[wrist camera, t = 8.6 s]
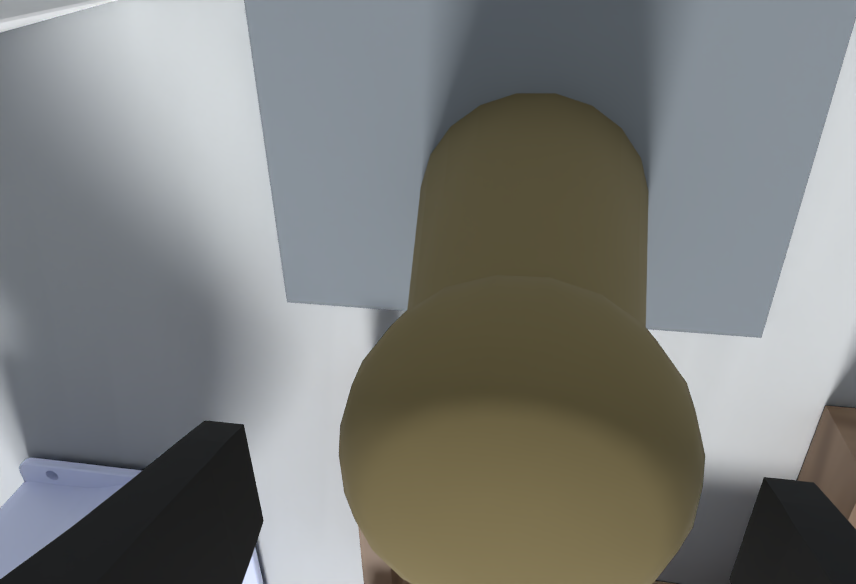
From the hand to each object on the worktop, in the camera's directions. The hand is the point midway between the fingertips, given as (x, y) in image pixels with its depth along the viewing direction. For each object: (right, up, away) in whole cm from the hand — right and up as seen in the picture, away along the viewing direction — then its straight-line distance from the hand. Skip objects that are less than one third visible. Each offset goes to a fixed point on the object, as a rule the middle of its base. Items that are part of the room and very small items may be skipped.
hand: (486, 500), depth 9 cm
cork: (+2, +5, +8) cm, 10 cm away
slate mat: (+2, +6, +8) cm, 10 cm away
